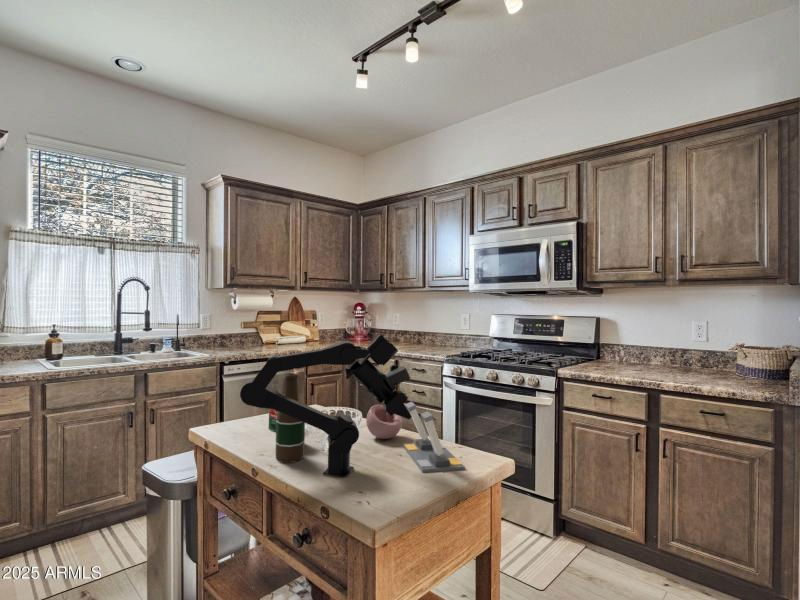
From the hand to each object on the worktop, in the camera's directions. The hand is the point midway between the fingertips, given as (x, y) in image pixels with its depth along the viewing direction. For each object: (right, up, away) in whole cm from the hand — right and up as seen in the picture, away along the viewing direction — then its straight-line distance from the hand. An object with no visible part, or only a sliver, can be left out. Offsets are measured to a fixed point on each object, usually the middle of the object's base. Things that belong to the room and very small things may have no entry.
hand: (410, 417), depth 123 cm
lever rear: (+5, -11, +15) cm, 19 cm away
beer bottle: (-34, -13, +5) cm, 37 cm away
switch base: (+6, -14, +9) cm, 18 cm away
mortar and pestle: (-8, -14, +26) cm, 31 cm away
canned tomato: (-45, -13, +35) cm, 59 cm away
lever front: (+8, -11, +2) cm, 13 cm away
